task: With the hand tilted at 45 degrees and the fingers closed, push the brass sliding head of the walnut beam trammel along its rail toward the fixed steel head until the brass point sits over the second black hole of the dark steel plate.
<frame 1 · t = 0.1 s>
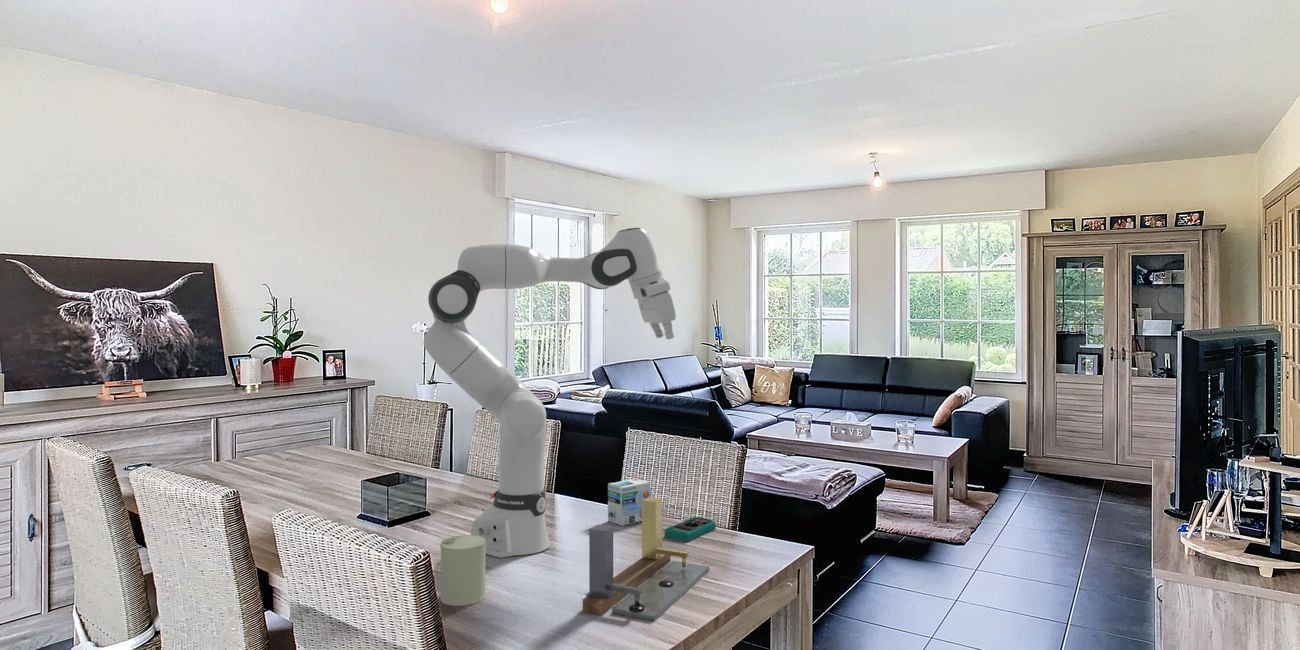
hand: (665, 337, 192), 52 cm above the table, tool tilted 20°, fingers open, 8 cm apart
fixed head: (601, 606, 147), resting on rail
hole plate: (664, 590, 155), on the table
sliding head: (666, 532, 167), point 9 cm above the table, slide at 0.0 cm
light bulb box: (629, 521, 207), on the table
digital multimeter: (690, 535, 195), on the table
rail: (630, 584, 158), on the table
can: (463, 598, 151), on the table
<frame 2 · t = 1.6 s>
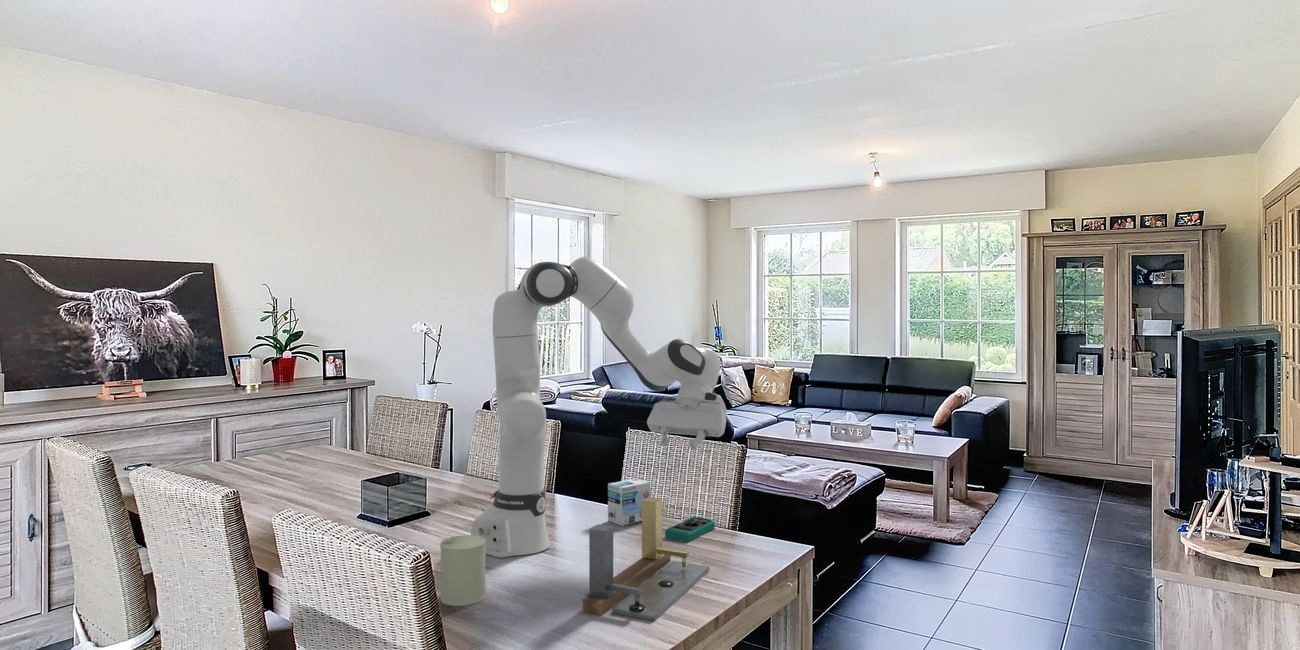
hand: (678, 446, 182), 25 cm above the table, tool tilted 45°, fingers open, 6 cm apart
nothing on the table moved.
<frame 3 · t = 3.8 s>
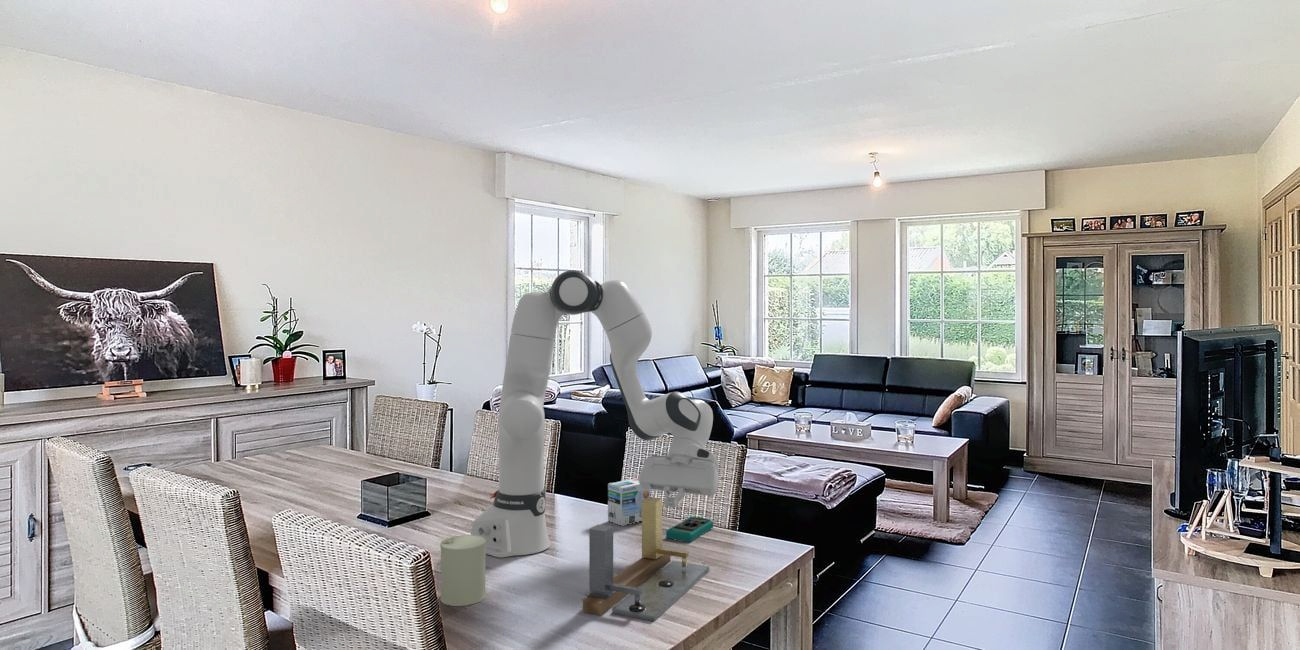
hand: (669, 505, 177), 12 cm above the table, tool tilted 45°, fingers closed
nothing on the table moved.
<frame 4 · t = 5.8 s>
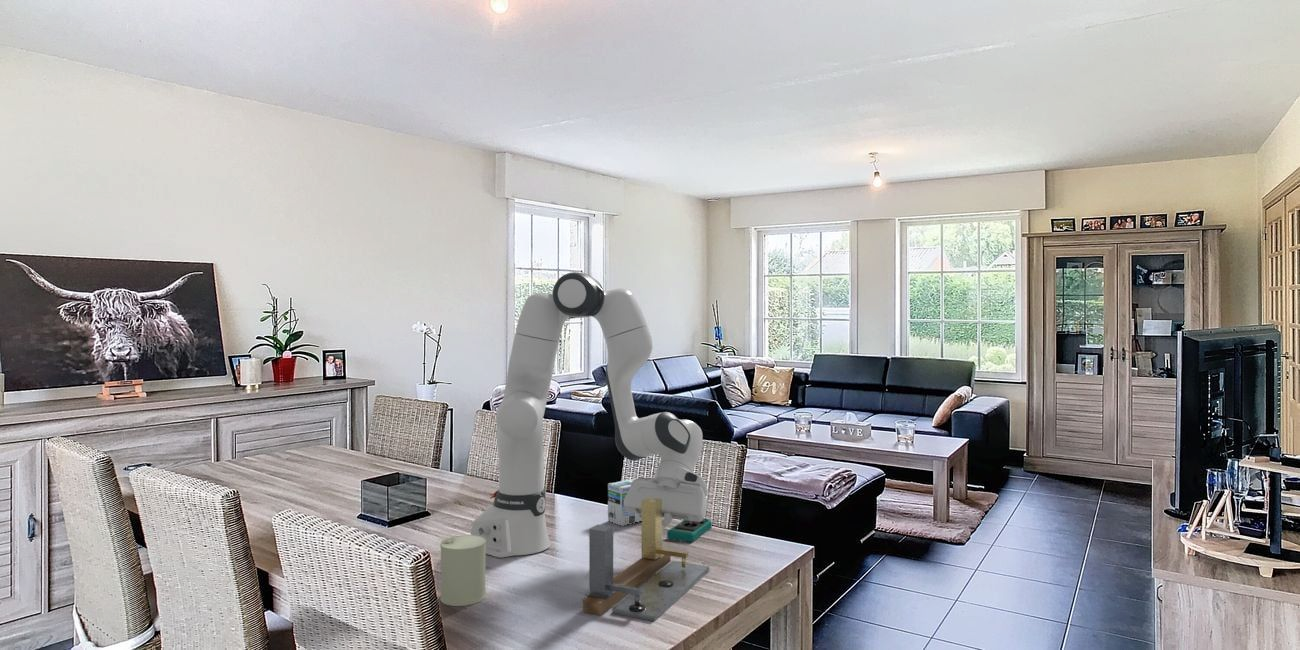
hand: (655, 531, 170), 8 cm above the table, tool tilted 45°, fingers closed, pressing on sliding head
sliding head: (665, 532, 167), point 9 cm above the table, slide at 0.2 cm, touching gripper
everything else where it was.
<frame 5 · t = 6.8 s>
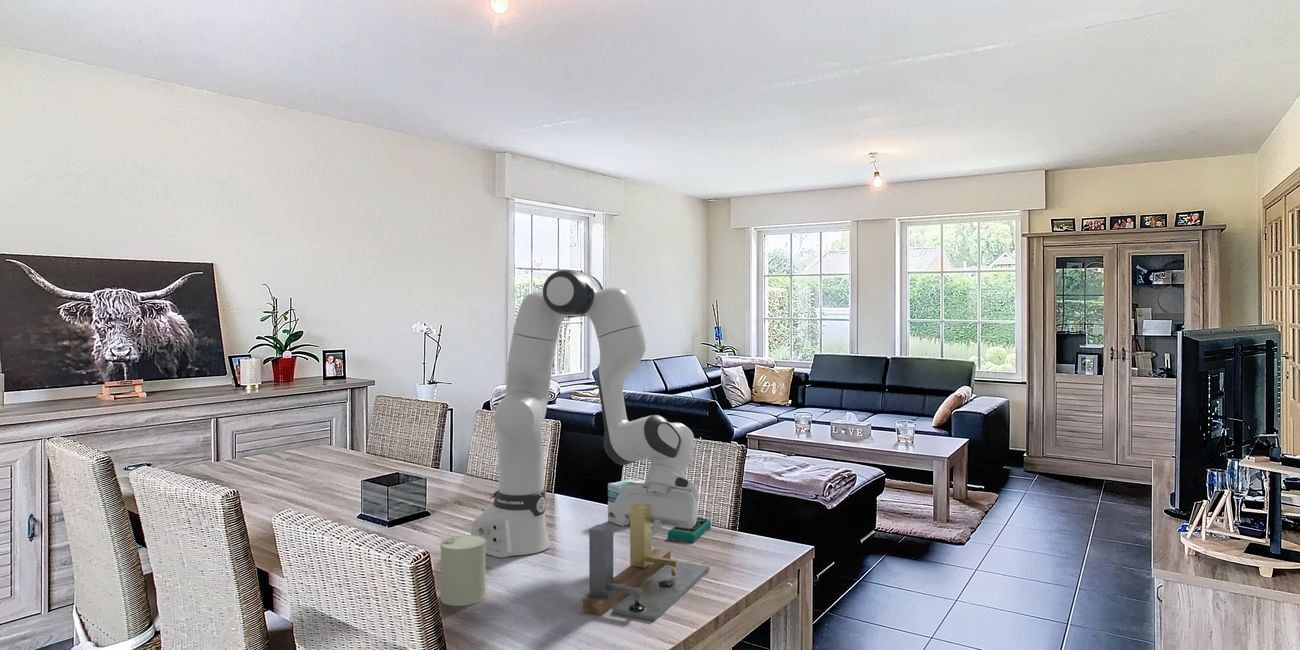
hand: (645, 538, 165), 8 cm above the table, tool tilted 45°, fingers closed, pressing on sliding head
sliding head: (655, 539, 161), point 9 cm above the table, slide at 6.0 cm, touching gripper
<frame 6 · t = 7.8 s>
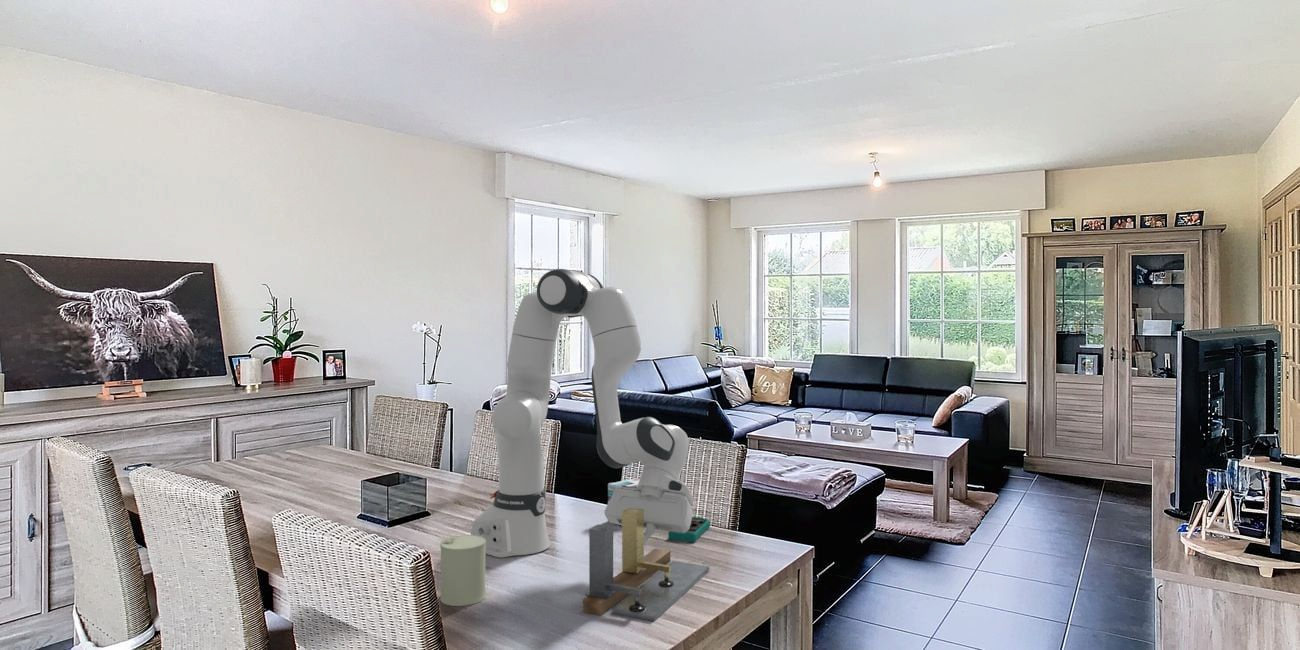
hand: (637, 543, 162), 8 cm above the table, tool tilted 45°, fingers closed, pressing on sliding head
sliding head: (647, 544, 158), point 9 cm above the table, slide at 9.8 cm, touching gripper
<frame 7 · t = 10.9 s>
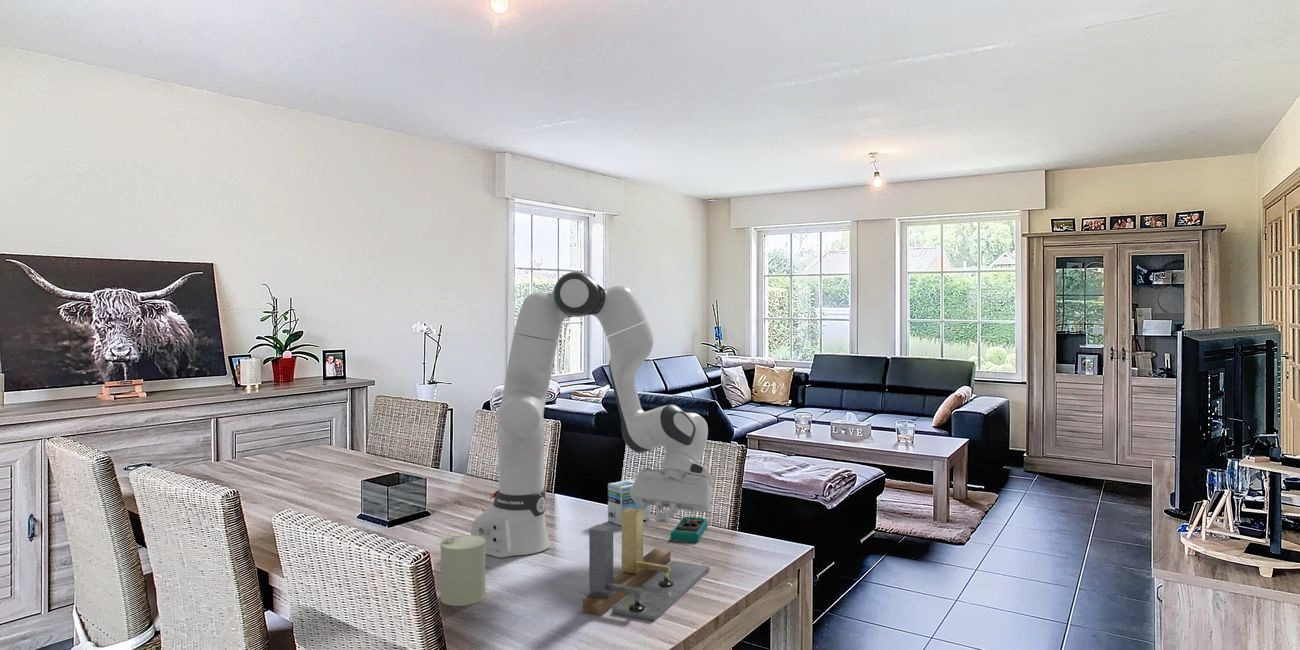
hand: (661, 521, 174), 9 cm above the table, tool tilted 45°, fingers closed
sliding head: (647, 545, 158), point 9 cm above the table, slide at 10.0 cm
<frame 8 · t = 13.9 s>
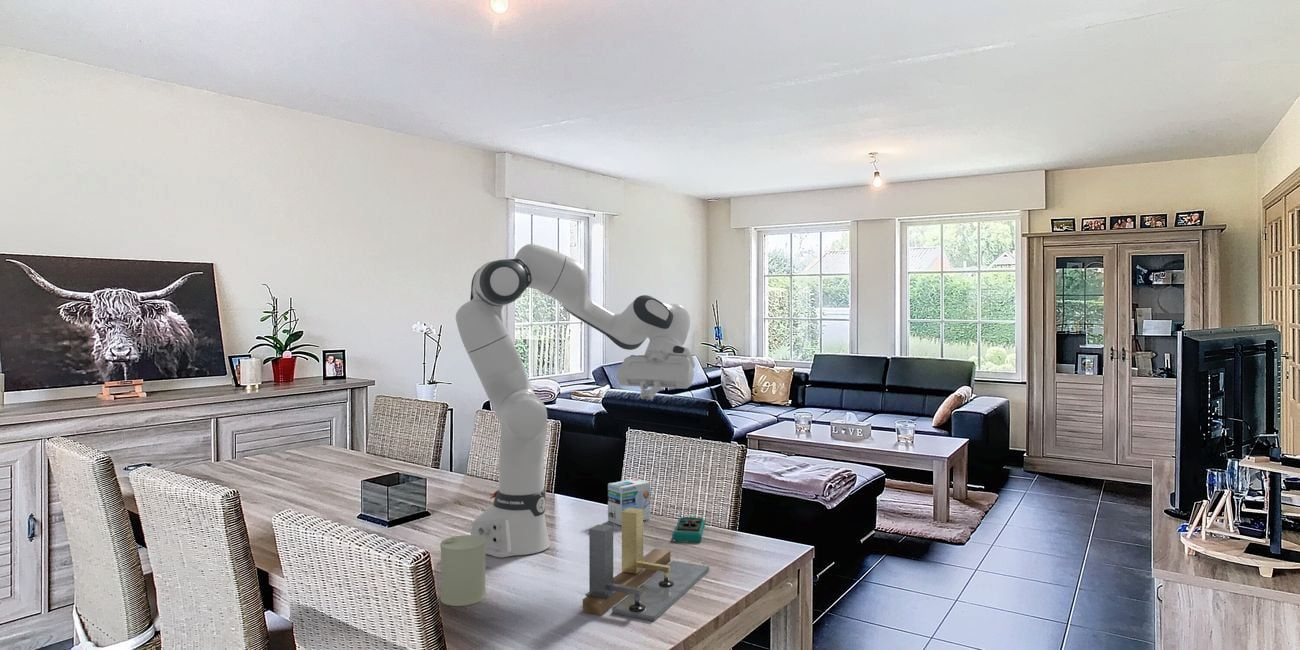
hand: (645, 397, 183), 37 cm above the table, tool tilted 45°, fingers closed
at the end: sliding head slide at 10.0 cm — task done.
